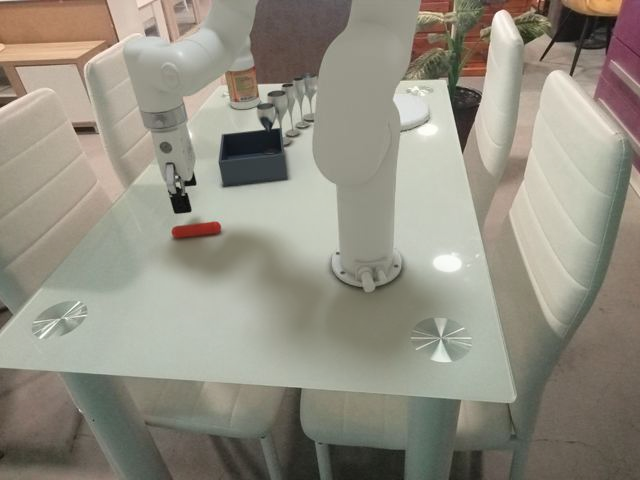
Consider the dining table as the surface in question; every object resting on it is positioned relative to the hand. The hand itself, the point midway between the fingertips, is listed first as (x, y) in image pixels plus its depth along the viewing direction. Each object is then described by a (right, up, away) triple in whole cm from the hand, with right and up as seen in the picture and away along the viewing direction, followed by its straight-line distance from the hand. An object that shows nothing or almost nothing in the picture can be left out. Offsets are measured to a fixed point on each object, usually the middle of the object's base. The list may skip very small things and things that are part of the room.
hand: (186, 198), depth 93 cm
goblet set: (+19, +22, +40) cm, 50 cm away
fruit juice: (+2, +36, +61) cm, 71 cm away
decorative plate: (+45, +28, +47) cm, 71 cm away
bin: (+10, +10, +26) cm, 30 cm away
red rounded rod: (+1, -7, +5) cm, 9 cm away
